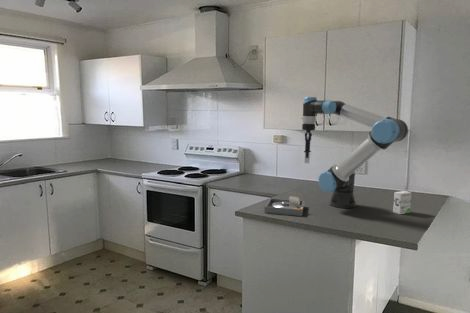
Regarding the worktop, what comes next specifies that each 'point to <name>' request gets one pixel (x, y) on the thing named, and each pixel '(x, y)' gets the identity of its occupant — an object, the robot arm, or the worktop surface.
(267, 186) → the worktop surface
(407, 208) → the ink box
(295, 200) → the dial
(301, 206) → the grey square tray
